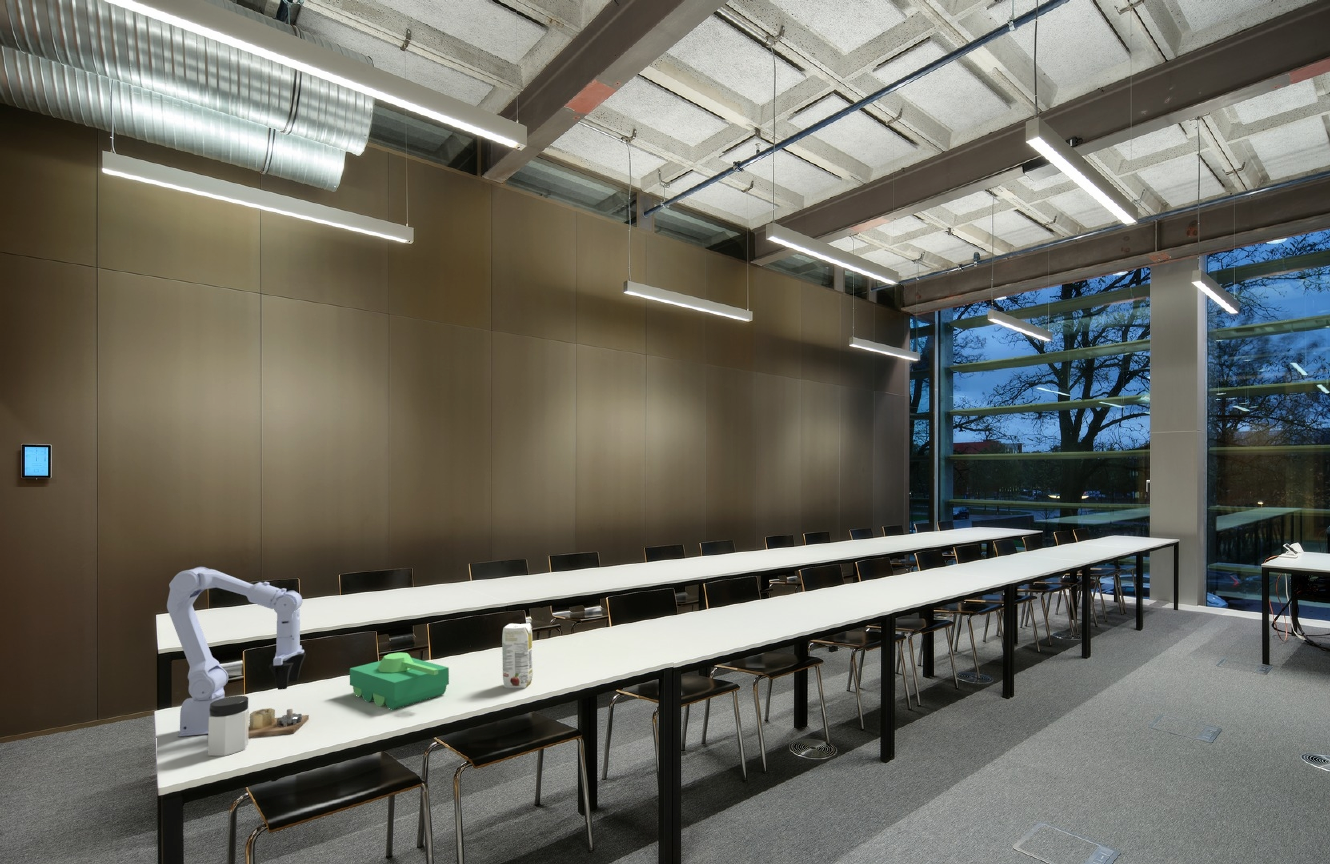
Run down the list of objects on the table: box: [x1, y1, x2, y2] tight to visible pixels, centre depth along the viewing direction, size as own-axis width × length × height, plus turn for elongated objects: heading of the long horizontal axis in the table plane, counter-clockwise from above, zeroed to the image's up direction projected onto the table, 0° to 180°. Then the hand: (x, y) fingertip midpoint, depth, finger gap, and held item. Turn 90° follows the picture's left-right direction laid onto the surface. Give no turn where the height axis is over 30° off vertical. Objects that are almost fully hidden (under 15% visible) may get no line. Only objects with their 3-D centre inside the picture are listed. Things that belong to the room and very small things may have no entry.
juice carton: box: [501, 622, 534, 689], centre depth 210 cm, size 8×9×19 cm
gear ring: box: [249, 707, 276, 729], centre depth 178 cm, size 5×5×4 cm
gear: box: [276, 712, 302, 727], centre depth 179 cm, size 6×6×2 cm
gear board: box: [248, 708, 310, 739], centre depth 178 cm, size 13×11×5 cm
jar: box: [207, 695, 250, 757], centre depth 165 cm, size 9×8×12 cm
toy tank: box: [349, 652, 450, 711], centre depth 202 cm, size 18×12×35 cm
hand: (288, 684), depth 184 cm, fingers open, 7 cm apart
